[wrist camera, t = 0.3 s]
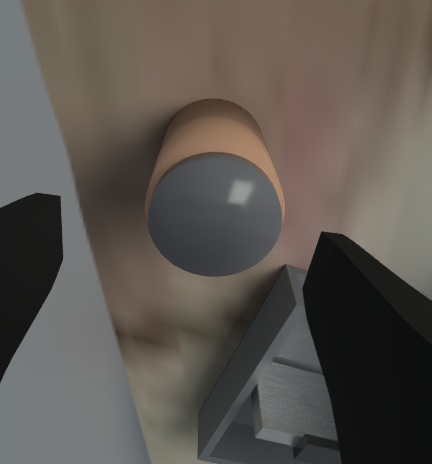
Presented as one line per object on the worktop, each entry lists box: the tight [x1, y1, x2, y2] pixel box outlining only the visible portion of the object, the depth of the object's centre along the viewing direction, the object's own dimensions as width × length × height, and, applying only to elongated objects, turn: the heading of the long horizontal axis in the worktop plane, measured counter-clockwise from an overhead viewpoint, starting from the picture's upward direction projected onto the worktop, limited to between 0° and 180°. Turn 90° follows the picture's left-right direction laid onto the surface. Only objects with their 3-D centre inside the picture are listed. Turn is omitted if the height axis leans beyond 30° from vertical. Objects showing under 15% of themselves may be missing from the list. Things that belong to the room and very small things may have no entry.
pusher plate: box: [251, 362, 342, 464], centre depth 25 cm, size 9×2×6 cm, turn 69°
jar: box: [145, 99, 285, 277], centre depth 17 cm, size 5×5×7 cm
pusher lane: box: [198, 265, 323, 464], centre depth 27 cm, size 11×15×4 cm
